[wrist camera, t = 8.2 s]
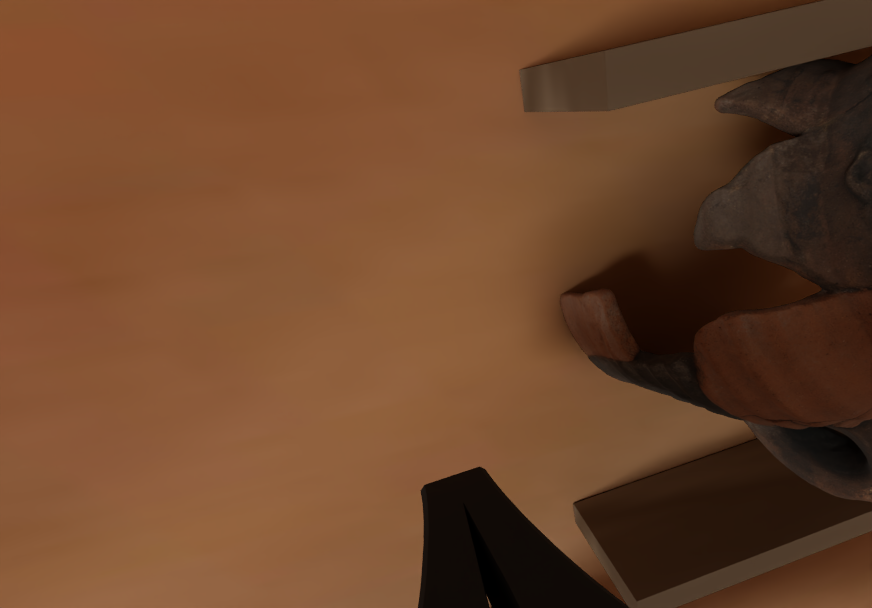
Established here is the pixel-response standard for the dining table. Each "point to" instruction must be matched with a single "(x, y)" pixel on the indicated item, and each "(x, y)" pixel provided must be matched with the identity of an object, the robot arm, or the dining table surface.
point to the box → (750, 462)
